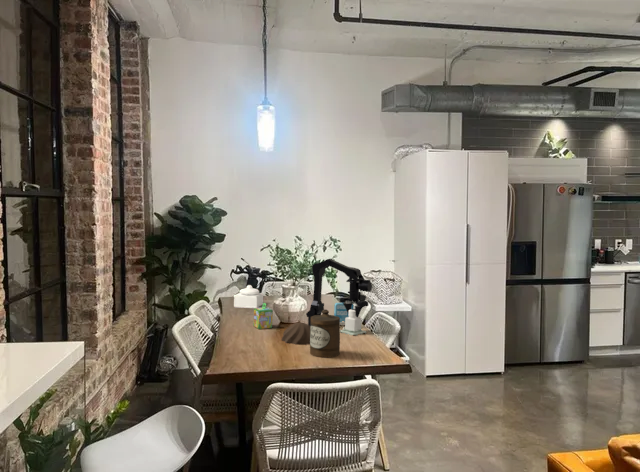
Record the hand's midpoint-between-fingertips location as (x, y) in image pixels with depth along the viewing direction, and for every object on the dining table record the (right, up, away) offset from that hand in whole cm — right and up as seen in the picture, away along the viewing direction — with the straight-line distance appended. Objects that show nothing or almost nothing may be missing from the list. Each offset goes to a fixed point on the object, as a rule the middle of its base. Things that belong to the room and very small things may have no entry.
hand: (353, 316), depth 290 cm
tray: (0, -10, 0) cm, 10 cm away
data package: (-4, -9, +32) cm, 34 cm away
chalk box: (-55, -9, +10) cm, 56 cm away
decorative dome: (-31, -10, -19) cm, 38 cm away
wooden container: (-17, -11, -45) cm, 50 cm away
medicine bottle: (0, -8, 0) cm, 8 cm away
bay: (-5, -9, +13) cm, 17 cm away
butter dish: (-74, -6, +82) cm, 110 cm away
